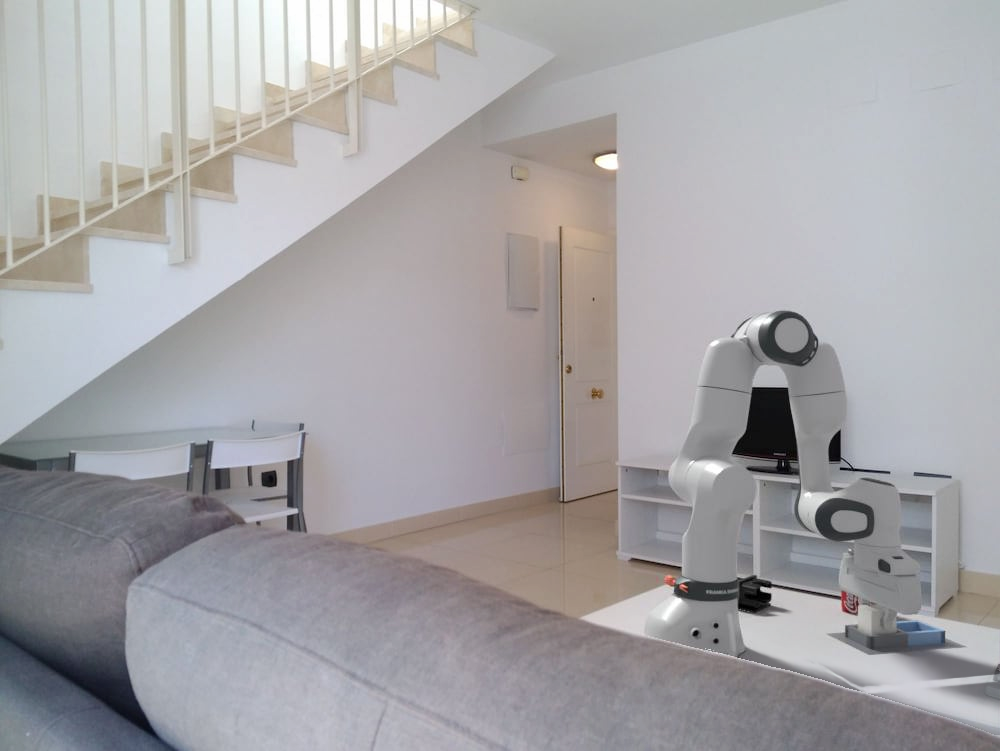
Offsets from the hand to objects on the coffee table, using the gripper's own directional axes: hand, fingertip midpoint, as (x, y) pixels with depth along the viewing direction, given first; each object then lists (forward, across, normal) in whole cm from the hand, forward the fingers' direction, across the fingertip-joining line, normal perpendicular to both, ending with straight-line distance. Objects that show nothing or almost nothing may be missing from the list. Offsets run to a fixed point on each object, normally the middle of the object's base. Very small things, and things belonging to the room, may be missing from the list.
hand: (877, 624), depth 159 cm
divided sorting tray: (+5, 0, +4) cm, 6 cm away
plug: (+4, 0, 0) cm, 4 cm away
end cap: (+5, -32, -10) cm, 33 cm away
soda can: (+5, -20, +11) cm, 23 cm away
